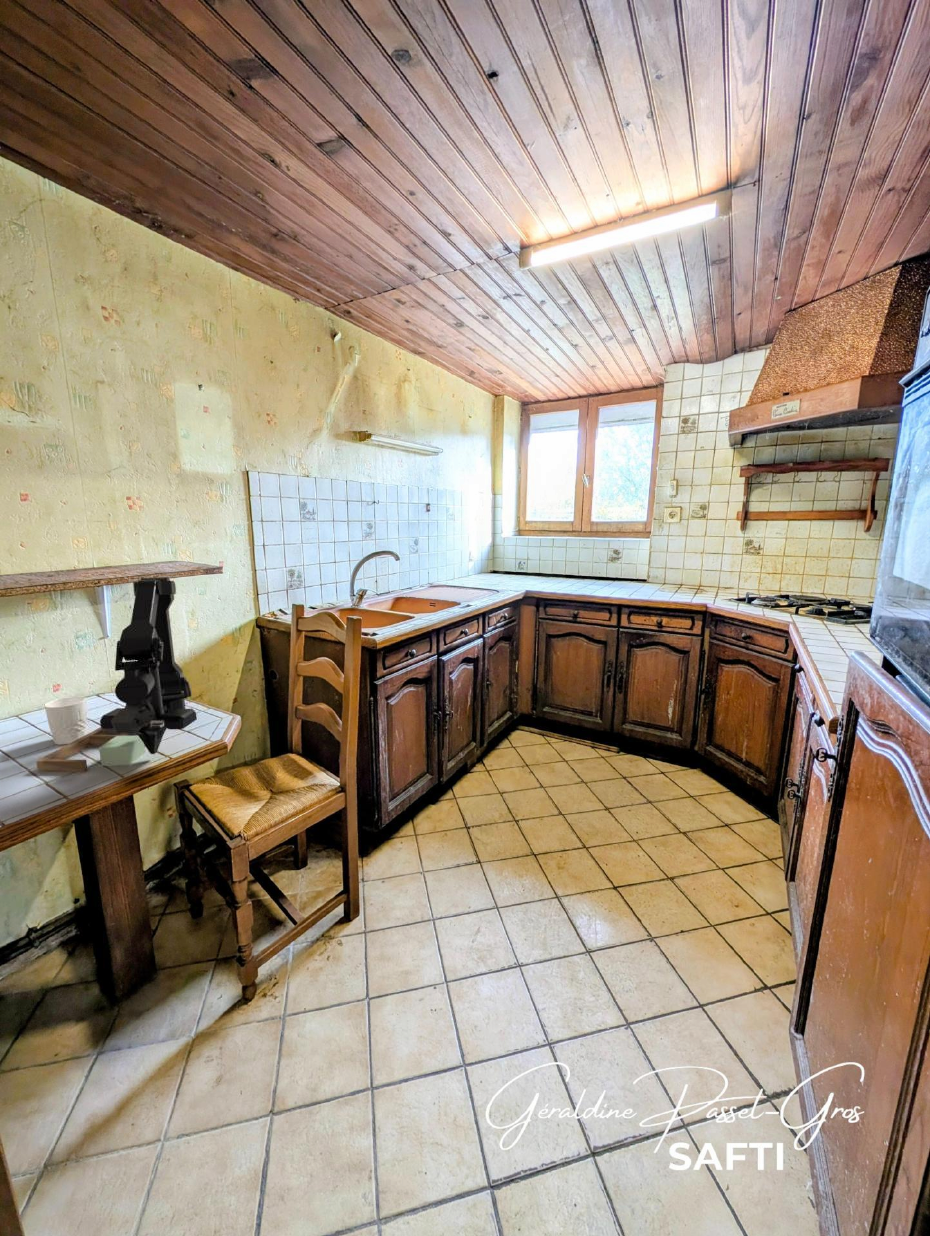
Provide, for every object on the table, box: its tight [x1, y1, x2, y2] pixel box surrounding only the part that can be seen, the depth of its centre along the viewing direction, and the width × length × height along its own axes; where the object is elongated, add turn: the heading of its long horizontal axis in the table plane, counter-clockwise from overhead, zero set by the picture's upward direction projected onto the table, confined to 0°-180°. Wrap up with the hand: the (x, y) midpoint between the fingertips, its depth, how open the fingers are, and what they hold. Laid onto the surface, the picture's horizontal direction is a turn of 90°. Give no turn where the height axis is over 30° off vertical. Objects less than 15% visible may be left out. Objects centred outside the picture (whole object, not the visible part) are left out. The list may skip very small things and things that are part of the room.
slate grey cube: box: [105, 728, 135, 736], centre depth 120 cm, size 4×4×4 cm
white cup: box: [44, 695, 89, 746], centre depth 119 cm, size 8×8×10 cm
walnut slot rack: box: [35, 726, 128, 773], centre depth 114 cm, size 21×10×2 cm, turn 179°
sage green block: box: [98, 735, 146, 767], centre depth 109 cm, size 6×6×4 cm
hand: (153, 753), depth 109 cm, fingers closed
